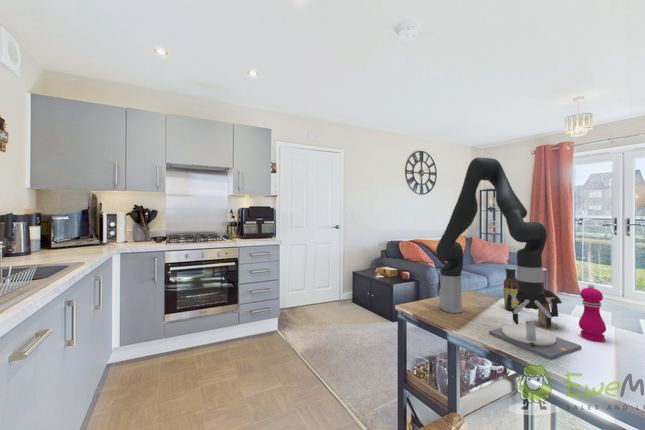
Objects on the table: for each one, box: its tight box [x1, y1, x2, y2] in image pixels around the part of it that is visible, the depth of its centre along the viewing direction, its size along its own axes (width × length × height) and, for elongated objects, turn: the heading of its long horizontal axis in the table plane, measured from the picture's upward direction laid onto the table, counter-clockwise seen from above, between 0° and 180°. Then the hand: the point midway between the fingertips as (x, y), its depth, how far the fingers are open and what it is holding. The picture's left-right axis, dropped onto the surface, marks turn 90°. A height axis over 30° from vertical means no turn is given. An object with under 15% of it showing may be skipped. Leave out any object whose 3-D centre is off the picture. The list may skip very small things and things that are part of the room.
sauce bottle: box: [503, 267, 519, 310], centre depth 133 cm, size 7×6×20 cm
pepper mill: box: [578, 283, 607, 343], centre depth 102 cm, size 7×7×20 cm
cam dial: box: [501, 320, 557, 347], centre depth 101 cm, size 18×16×7 cm
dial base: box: [488, 327, 582, 361], centre depth 100 cm, size 21×17×1 cm
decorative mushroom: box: [537, 288, 562, 327], centre depth 114 cm, size 11×11×15 cm
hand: (531, 325), depth 96 cm, fingers open, 8 cm apart
